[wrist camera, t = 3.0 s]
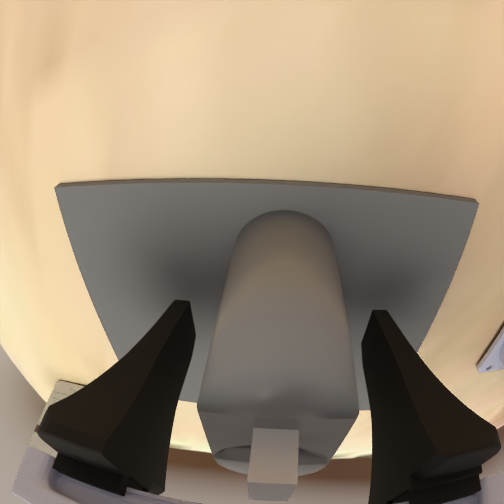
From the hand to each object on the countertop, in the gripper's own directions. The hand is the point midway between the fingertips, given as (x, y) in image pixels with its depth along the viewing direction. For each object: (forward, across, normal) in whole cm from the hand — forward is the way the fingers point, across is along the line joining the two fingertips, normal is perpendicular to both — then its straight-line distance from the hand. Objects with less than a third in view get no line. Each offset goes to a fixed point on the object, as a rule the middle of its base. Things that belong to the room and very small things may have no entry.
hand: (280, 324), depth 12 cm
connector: (+2, 0, 0) cm, 2 cm away
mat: (+2, +1, +3) cm, 4 cm away
